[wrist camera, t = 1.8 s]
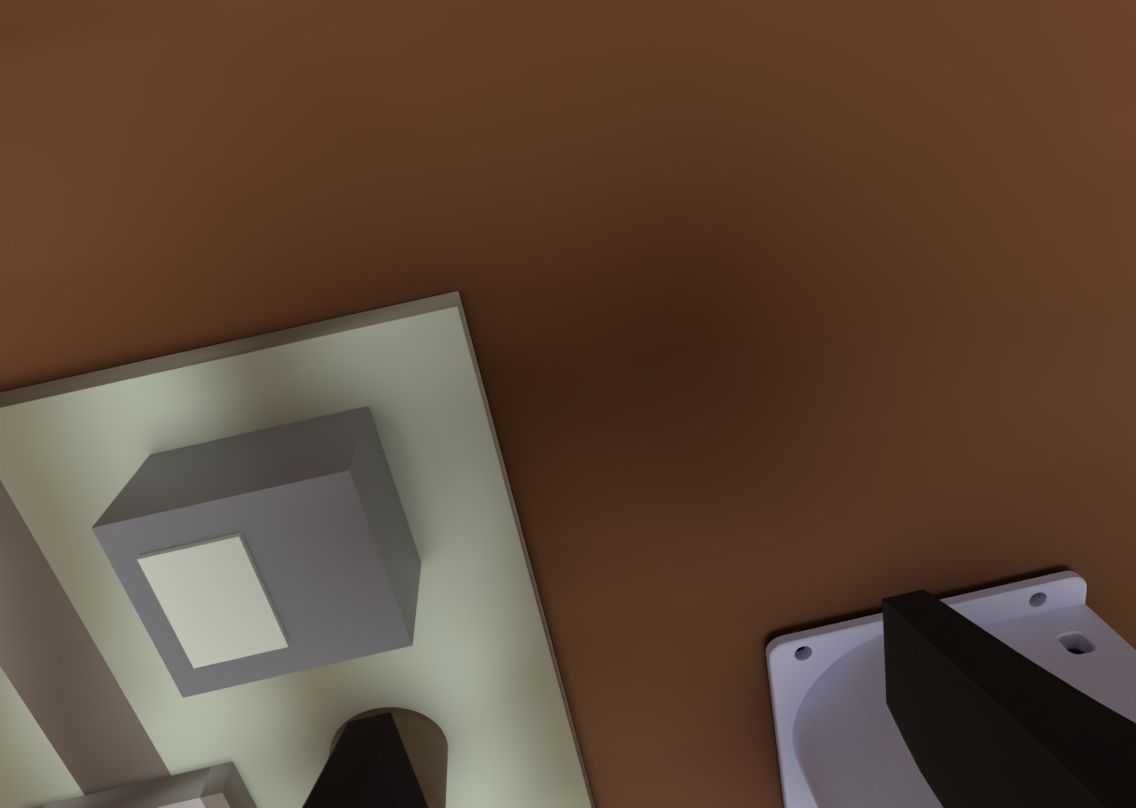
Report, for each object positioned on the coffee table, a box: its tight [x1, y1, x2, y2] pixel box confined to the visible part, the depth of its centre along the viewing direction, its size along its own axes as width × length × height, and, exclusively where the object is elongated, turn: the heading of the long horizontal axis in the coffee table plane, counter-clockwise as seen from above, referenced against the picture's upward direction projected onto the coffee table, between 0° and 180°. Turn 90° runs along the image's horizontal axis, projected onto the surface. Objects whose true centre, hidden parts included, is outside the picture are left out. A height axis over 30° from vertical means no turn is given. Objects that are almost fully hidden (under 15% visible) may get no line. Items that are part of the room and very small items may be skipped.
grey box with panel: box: [92, 406, 421, 698], centre depth 17 cm, size 5×4×3 cm
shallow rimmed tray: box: [0, 291, 595, 808], centre depth 21 cm, size 16×20×2 cm
